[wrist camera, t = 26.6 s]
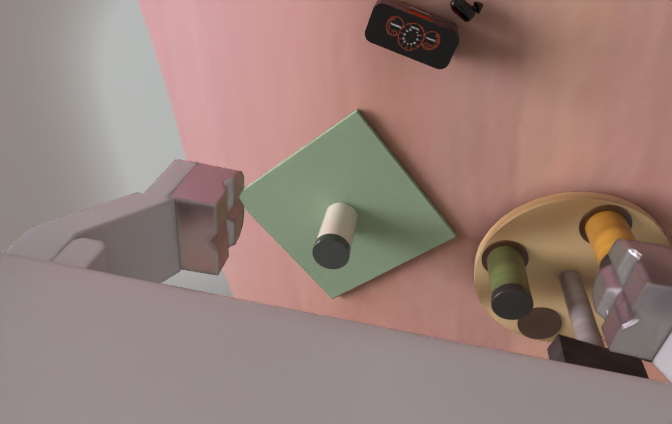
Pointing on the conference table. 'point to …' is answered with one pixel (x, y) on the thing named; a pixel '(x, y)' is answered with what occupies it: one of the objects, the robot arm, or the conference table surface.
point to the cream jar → (335, 236)
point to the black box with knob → (418, 30)
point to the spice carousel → (559, 272)
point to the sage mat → (355, 190)
